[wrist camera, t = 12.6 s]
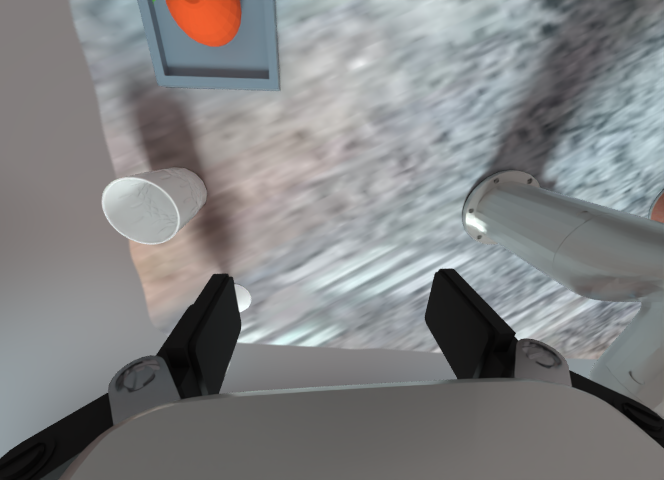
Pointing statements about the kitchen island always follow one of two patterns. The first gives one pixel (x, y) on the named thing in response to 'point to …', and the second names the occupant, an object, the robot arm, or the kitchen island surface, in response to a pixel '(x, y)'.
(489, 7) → the kitchen island surface
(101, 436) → the robot arm
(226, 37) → the clementine
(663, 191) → the canned food
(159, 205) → the white cup
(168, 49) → the dish
